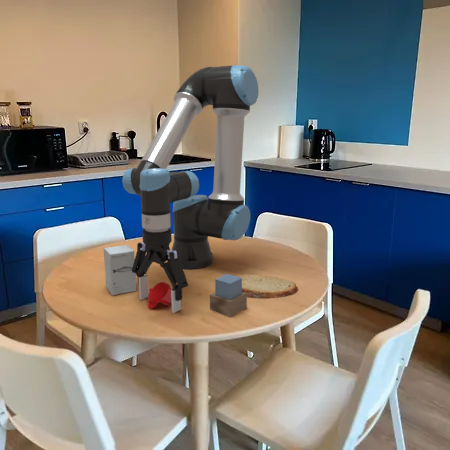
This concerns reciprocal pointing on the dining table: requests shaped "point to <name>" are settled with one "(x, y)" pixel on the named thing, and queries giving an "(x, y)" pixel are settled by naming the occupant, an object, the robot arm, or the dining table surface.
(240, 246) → the dining table surface
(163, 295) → the cap
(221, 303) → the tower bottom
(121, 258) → the supplement box
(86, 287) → the dining table surface
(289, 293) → the slice of bread
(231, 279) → the tower top
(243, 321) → the dining table surface
